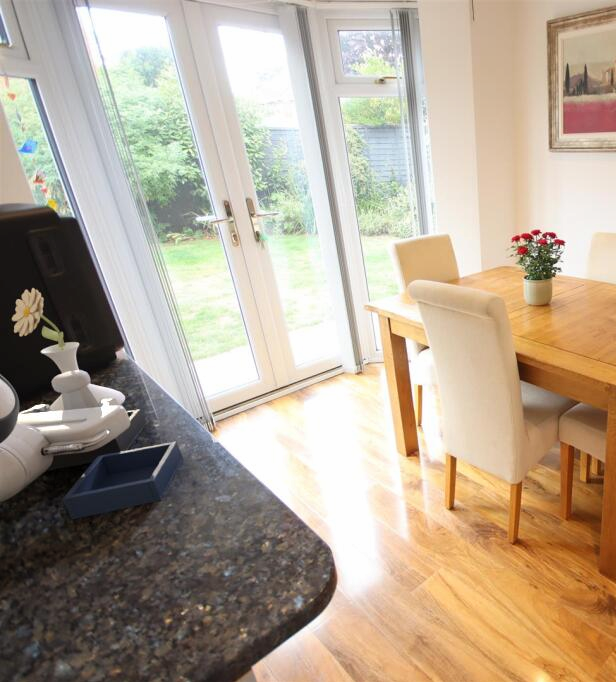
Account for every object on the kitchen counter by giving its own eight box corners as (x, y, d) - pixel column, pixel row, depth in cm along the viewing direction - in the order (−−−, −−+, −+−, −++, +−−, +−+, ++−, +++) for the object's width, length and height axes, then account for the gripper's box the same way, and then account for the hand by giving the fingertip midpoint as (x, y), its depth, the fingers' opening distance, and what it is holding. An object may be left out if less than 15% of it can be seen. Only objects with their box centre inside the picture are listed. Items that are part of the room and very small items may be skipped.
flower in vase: (49, 415, 86) (-13, 286, 77) (125, 394, 93) (78, 273, 84) (46, 444, 77) (-24, 301, 68) (131, 418, 84) (79, 285, 75)
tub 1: (44, 471, 70) (35, 453, 69) (77, 437, 79) (70, 420, 77) (122, 456, 73) (115, 438, 72) (146, 425, 82) (140, 408, 80)
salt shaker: (69, 459, 72) (34, 385, 67) (83, 440, 77) (52, 370, 72) (114, 449, 74) (84, 377, 69) (126, 431, 79) (98, 363, 74)
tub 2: (71, 519, 60) (61, 499, 59) (106, 474, 69) (98, 455, 67) (161, 500, 63) (153, 480, 62) (183, 458, 72) (177, 441, 70)
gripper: (83, 427, 60) (144, 380, 73) (-99, 446, 57) (-3, 394, 70) (101, 467, 62) (157, 415, 75) (-74, 487, 60) (15, 429, 72)
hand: (79, 405), depth 73 cm, fingers open, 8 cm apart
